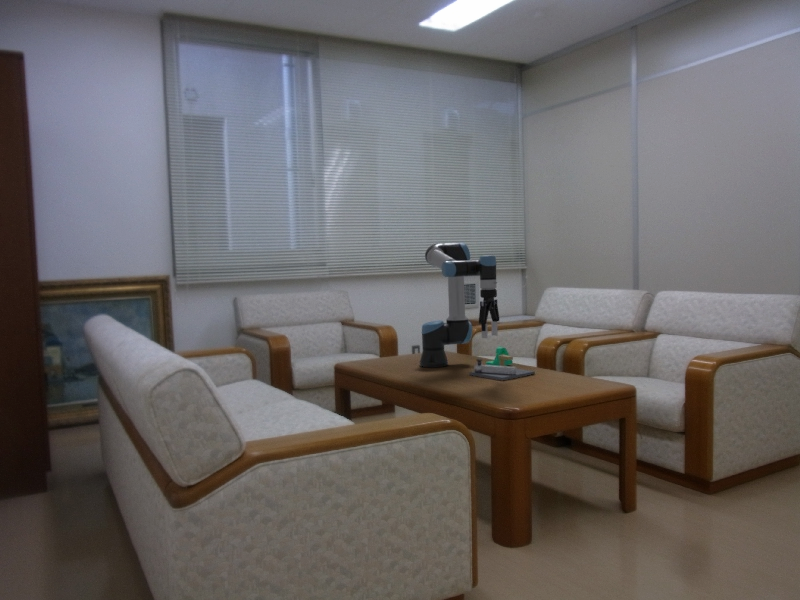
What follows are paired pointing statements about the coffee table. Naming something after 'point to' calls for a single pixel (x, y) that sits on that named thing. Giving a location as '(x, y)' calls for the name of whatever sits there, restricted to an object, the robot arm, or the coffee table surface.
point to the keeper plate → (503, 376)
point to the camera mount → (496, 361)
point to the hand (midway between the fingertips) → (489, 336)
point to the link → (493, 368)
